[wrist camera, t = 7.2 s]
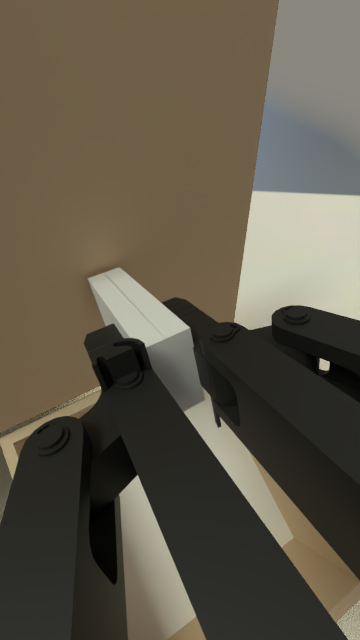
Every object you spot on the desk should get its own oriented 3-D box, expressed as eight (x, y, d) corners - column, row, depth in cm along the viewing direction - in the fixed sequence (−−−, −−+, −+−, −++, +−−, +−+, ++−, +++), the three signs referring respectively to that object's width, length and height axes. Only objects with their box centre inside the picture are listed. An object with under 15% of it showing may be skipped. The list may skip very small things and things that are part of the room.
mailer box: (126, 677, 21) (131, 822, 13) (35, 432, 24) (-2, 438, 17) (299, 537, 26) (372, 586, 18) (201, 351, 29) (229, 328, 22)
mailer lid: (-1000, -320, 3) (-891, -280, 3) (-11, 437, 16) (-12, 428, 17) (299, -146, 8) (283, -139, 8) (233, 322, 21) (228, 317, 22)
